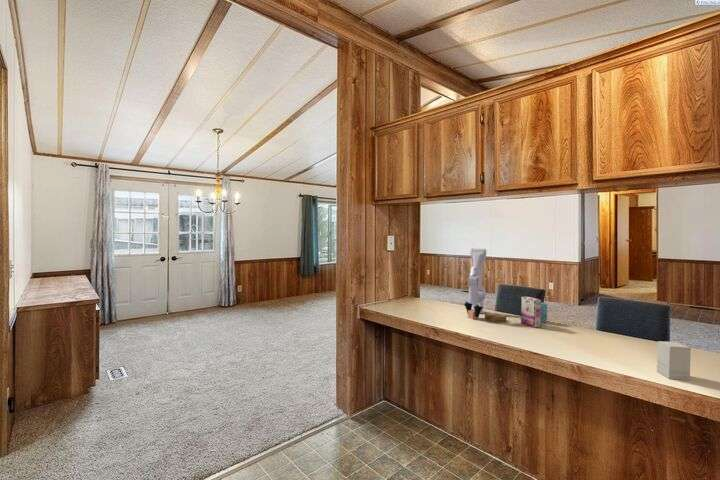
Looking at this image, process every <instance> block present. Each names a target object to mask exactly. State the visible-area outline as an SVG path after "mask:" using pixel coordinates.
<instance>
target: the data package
mask: <svg viewBox="0 0 720 480" xmlns="http://www.w3.org/2000/svg"><path fill="white" fill-rule="evenodd" d="M547 321H548V304H547V303H546V302H542V301H541V324H543V323H546V322H547Z"/></svg>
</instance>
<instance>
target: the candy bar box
mask: <svg viewBox="0 0 720 480" xmlns="http://www.w3.org/2000/svg"><path fill="white" fill-rule="evenodd" d="M541 302H542V299H539V298H537V297H532V296H521V303H520V304H521V305H520V308H521V309H520V310H521V311H520V323H521V324H523V325H525V326H528V327H530V328H531V327H532V328H541V326H542V325H541V324H542V323H541Z"/></svg>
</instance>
